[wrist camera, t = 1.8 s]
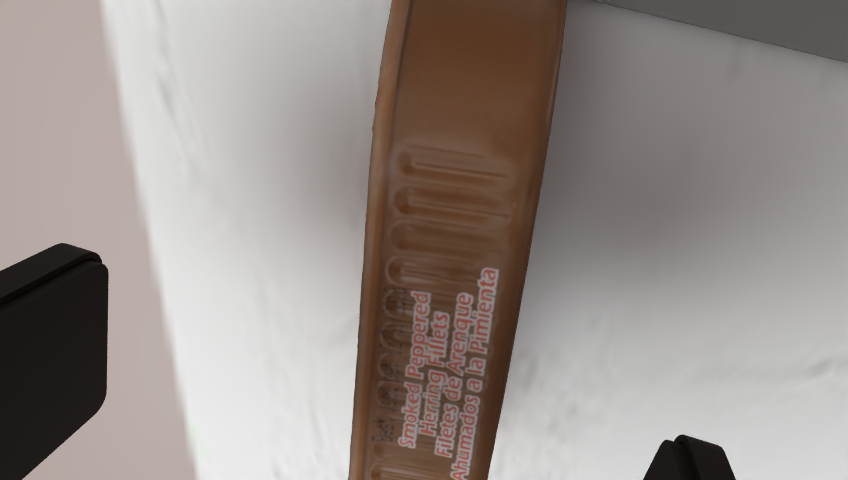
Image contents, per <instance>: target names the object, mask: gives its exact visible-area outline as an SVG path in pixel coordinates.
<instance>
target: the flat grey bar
mask: <svg viewBox="0 0 848 480" xmlns="http://www.w3.org/2000/svg"><path fill="white" fill-rule="evenodd" d="M594 1H598V2H602V3H606V4H610V5H614V6H618V7H622V8H627V9H631V10H635V11H639V12H643V13H647V14H651V15H655V16H659V17H663V18H667V19H671V20H675V21H680V22H684V23H688V24H692V25H696V26H700V27H704V28H708V29H712V30H716V31H720V32H724V33H729V34H733V35H737V36H741V37H745V38H749V39H753V40H757V41H761V42H765V43H769V44H773V45H777V46H782V47H786V48H790V49H794V50H798V51H802V52H806V53H810V54H814V55H818V56H822V57H826V58H830V59H835V60H839V61H843V62H847V63H848V0H594Z"/></svg>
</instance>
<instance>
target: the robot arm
mask: <svg viewBox="0 0 848 480" xmlns="http://www.w3.org/2000/svg"><path fill="white" fill-rule="evenodd" d="M107 331H108V269H107V268H106V266H105V265H104V264H102V260H101V258H100V256H99V255H98V254H97V253H95V252H92V251H89V250H85V249H82V248H79V247H76V246H72V245H69V244H65V243H60V244H57V245H54V246H52V247H50V248H48V249H46V250H44V251H42V252H39V253H38V254H35V255H33V256H31V257H29V258H27V259H25V260H23V261H21V262H18V263H16V264H14V265H12V266H10V267H8V268H6V269H4V270H2V271H0V480H22V479H23V478H24V477H25V476H26V475H28V474H29V473H30V472H31V471H32V470H33V469H34V468H35V467H37V466H38V465H39V464H40V463H41V462H42V461H43V460H44V459H46V458H47V457H48V456H49V455H50V454H51V453H52V452H53V451H54V450H56V449H57V448H58V447H59V446H60V445H61V444H62V443H63V442H65V440H67V439H68V438H69V437H70V436H71V435H72V434H73V433H75V432H76V431H77V430H78V429H79V428H80V427H81V426H82V425H84V424H85V423H86V422H87V421H88V420H89V419H90V418H91V417H93V415H95V414H96V413H97V411H98V410H99V409H100V407H101V406H102V404H103V402H104V400H105V397H106V391H107V390H106V389H107ZM643 480H736V479H735V477H734V474H733V472H732V469H731V467H730V464H729V462H728V459H727V457H726V454H725V452H724V450H723V449H722V447H720V446H718V445H715V444H712V443H709V442H706V441H702V440H699V439H696V438H693V437H689V436H686V435H679V436H678V437H677V438H676V439H675V440H674V442H673V441H670V440H665V441H663V442H662V444H661V445H660V447H659V449H658V451H657V453H656V455H655V457H654V459H653V461H652V463H651V465H650V467H649V469H648V471H647V473H646V475H645V477H644V479H643Z"/></svg>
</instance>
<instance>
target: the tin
mask: <svg viewBox="0 0 848 480" xmlns="http://www.w3.org/2000/svg"><path fill="white" fill-rule="evenodd" d="M566 6H567V0H392V4H391V10H390V15H389V20H388V25H387V30H386V36H385V42H384V47H383V54H382V61H381V67H380V75H379V80H378V92H377V98H376V102H375V116H374V123H373V128H372V130H373V139H372V148H371V156H370V169H369V181H368V200H367V213H366V226H365V242H364V263H363V273H362V286H361V300H360V320H359V331H358V353H357V364H356V378H355V392H354V407H353V421H352V434H351V445H350V466H349V478H348V480H487V479H488V473H489V468H490V463H491V458H492V454H493V449H494V444H495V438H496V432H497V428H498V423H499V418H500V413H501V408H502V403H503V398H504V393H505V388H506V382H507V377H508V372H509V366H510V361H511V356H512V350H513V344H514V338H515V333H516V328H517V323H518V317H519V311H520V305H521V299H522V293H523V288H524V282H525V277H526V271H527V266H528V259H529V253H530V247H531V240H532V234H533V228H534V222H535V217H536V211H537V205H538V200H539V194H540V189H541V183H542V178H543V172H544V165H545V159H546V153H547V147H548V141H549V135H550V128H551V122H552V115H553V108H554V101H555V94H556V87H557V80H558V73H559V66H560V59H561V52H562V43H563V35H564V26H565V18H566Z"/></svg>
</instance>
